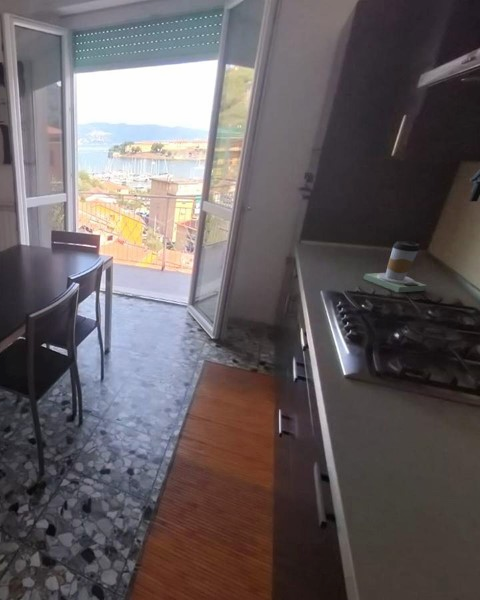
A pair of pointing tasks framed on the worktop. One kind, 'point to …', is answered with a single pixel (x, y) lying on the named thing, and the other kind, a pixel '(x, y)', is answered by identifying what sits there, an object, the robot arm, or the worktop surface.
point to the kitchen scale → (395, 283)
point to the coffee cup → (401, 259)
